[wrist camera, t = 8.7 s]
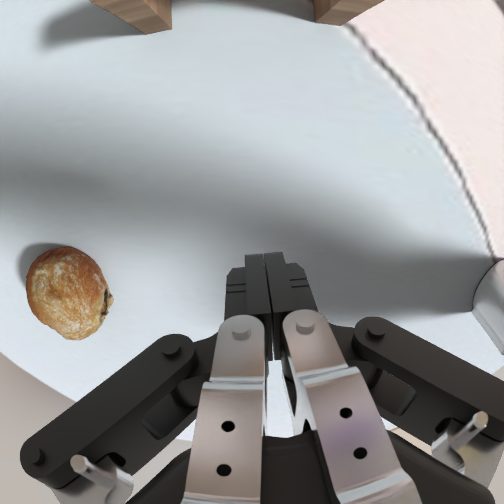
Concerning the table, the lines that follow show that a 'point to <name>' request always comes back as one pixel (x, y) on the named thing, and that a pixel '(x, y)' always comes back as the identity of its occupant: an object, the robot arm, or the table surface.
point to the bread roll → (68, 292)
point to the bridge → (159, 18)
